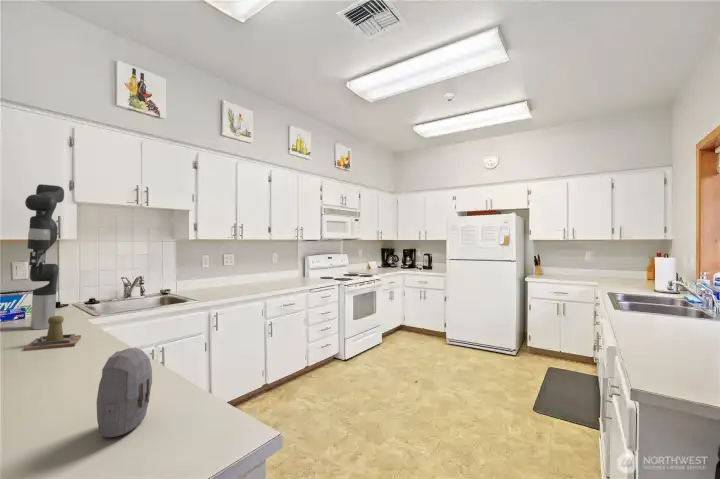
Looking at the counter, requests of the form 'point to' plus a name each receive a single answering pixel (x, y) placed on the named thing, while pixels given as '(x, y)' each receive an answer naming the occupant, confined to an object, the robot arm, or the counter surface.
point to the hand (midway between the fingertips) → (36, 273)
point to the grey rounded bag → (123, 392)
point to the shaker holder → (53, 342)
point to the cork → (55, 329)
